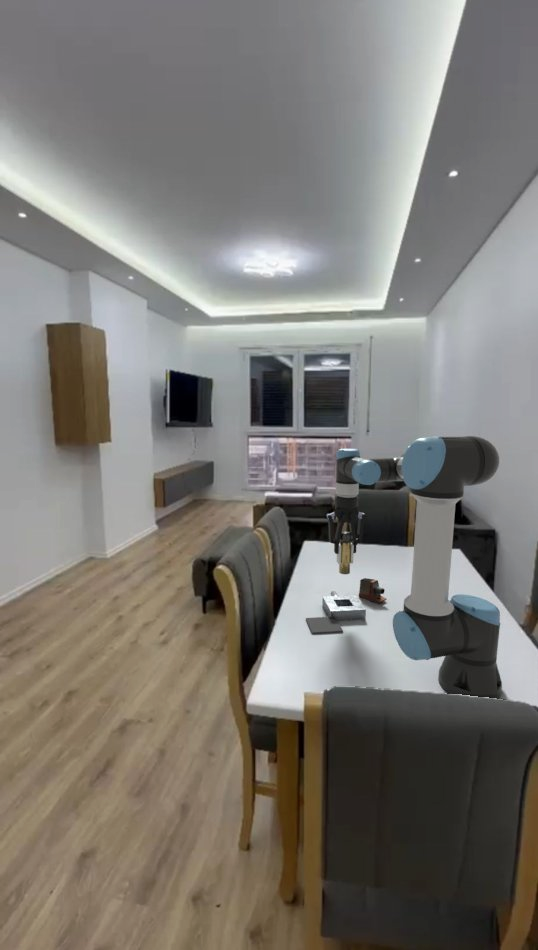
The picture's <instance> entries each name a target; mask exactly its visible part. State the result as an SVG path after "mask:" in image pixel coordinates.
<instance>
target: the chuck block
mask: <svg viewBox="0 0 538 950" xmlns="http://www.w3.org/2000/svg"><path fill="white" fill-rule="evenodd" d="M321 606H322V608H323V609H324V611H325V613H326V615H327V617H330V619H337V621H338V622H341V621H360V620H361V621H362V620H366V617H367V616H366V613H367V612H366V611H367V609H366V608H365V606H364V605H363V603H362V602H361V601H360V600H359V597H358V596H357V595H355V594H348V595H338V594H337V592H336V591H335V590H332V591H331V592H330V595H329V596H328V595H327V596H322V605H321Z"/></svg>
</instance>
